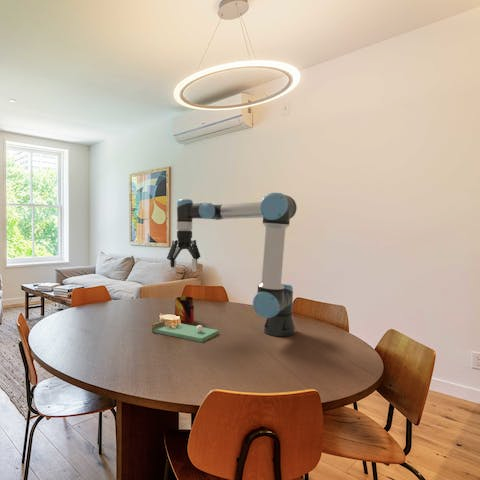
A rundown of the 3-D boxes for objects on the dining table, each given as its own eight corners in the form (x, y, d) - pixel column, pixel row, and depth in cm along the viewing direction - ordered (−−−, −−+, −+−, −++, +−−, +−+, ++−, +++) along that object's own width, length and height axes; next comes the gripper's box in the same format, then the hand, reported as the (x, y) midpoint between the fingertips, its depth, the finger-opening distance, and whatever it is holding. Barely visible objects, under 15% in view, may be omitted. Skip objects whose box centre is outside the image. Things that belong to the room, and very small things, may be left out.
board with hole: (218, 333, 159) (219, 326, 158) (201, 342, 146) (201, 333, 146) (171, 324, 172) (171, 317, 172) (152, 331, 159) (152, 324, 159)
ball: (204, 331, 156) (204, 324, 156) (200, 333, 153) (200, 326, 153) (198, 330, 157) (198, 323, 157) (194, 332, 154) (194, 325, 154)
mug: (192, 325, 171) (192, 302, 170) (170, 321, 177) (171, 298, 177) (203, 321, 179) (203, 298, 179) (182, 317, 186) (182, 295, 185)
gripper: (197, 230, 183) (196, 270, 184) (159, 230, 164) (159, 274, 164) (207, 230, 178) (207, 271, 179) (170, 230, 159) (169, 275, 159)
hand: (184, 272), depth 172 cm, fingers open, 13 cm apart
